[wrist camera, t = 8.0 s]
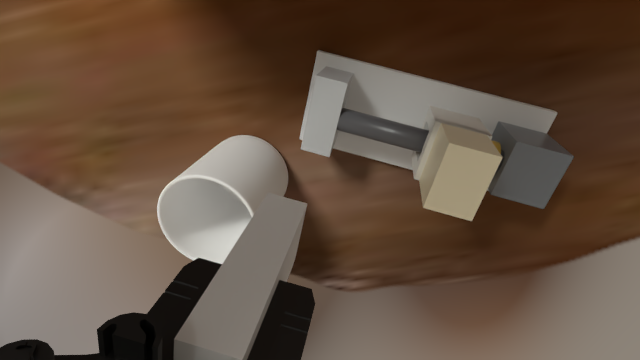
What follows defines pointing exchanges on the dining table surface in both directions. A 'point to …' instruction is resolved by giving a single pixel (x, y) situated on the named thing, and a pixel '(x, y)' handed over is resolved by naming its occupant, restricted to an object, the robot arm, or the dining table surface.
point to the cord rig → (408, 117)
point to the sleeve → (455, 163)
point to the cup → (220, 196)
